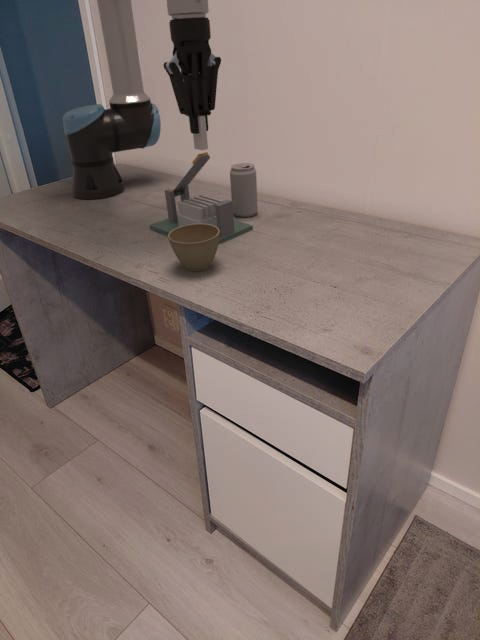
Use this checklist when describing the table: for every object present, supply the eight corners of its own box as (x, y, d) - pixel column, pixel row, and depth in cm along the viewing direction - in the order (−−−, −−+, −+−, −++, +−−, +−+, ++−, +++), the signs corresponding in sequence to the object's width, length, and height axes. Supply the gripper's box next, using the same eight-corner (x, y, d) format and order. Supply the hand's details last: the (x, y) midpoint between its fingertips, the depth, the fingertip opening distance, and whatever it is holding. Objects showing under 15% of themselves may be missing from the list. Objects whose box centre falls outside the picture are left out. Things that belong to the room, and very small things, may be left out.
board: (150, 229, 114) (144, 194, 110) (197, 211, 123) (194, 179, 118) (204, 250, 102) (200, 212, 97) (252, 229, 110) (251, 193, 106)
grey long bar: (173, 198, 113) (169, 191, 113) (181, 195, 114) (177, 189, 114) (202, 161, 100) (198, 154, 100) (211, 159, 101) (207, 151, 101)
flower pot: (196, 251, 101) (193, 219, 97) (232, 262, 96) (230, 229, 92) (162, 269, 95) (157, 235, 91) (198, 282, 89) (194, 246, 86)
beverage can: (247, 220, 116) (245, 170, 109) (227, 215, 119) (223, 167, 113) (262, 212, 120) (261, 163, 114) (242, 208, 123) (240, 161, 117)
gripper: (173, 17, 82) (188, 157, 94) (228, 14, 89) (235, 145, 102) (148, 19, 86) (166, 152, 99) (202, 16, 94) (212, 141, 106)
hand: (201, 148), depth 100 cm, fingers closed
